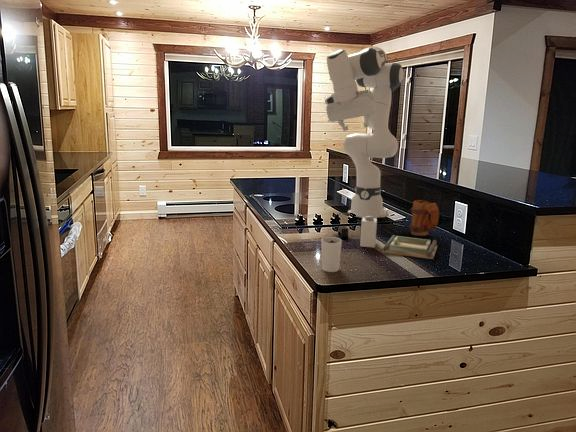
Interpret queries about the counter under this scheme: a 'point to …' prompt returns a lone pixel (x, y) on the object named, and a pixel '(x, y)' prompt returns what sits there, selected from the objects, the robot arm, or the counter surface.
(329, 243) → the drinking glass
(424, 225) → the orange brown rounded block
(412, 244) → the tray
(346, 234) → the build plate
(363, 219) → the white capped container
